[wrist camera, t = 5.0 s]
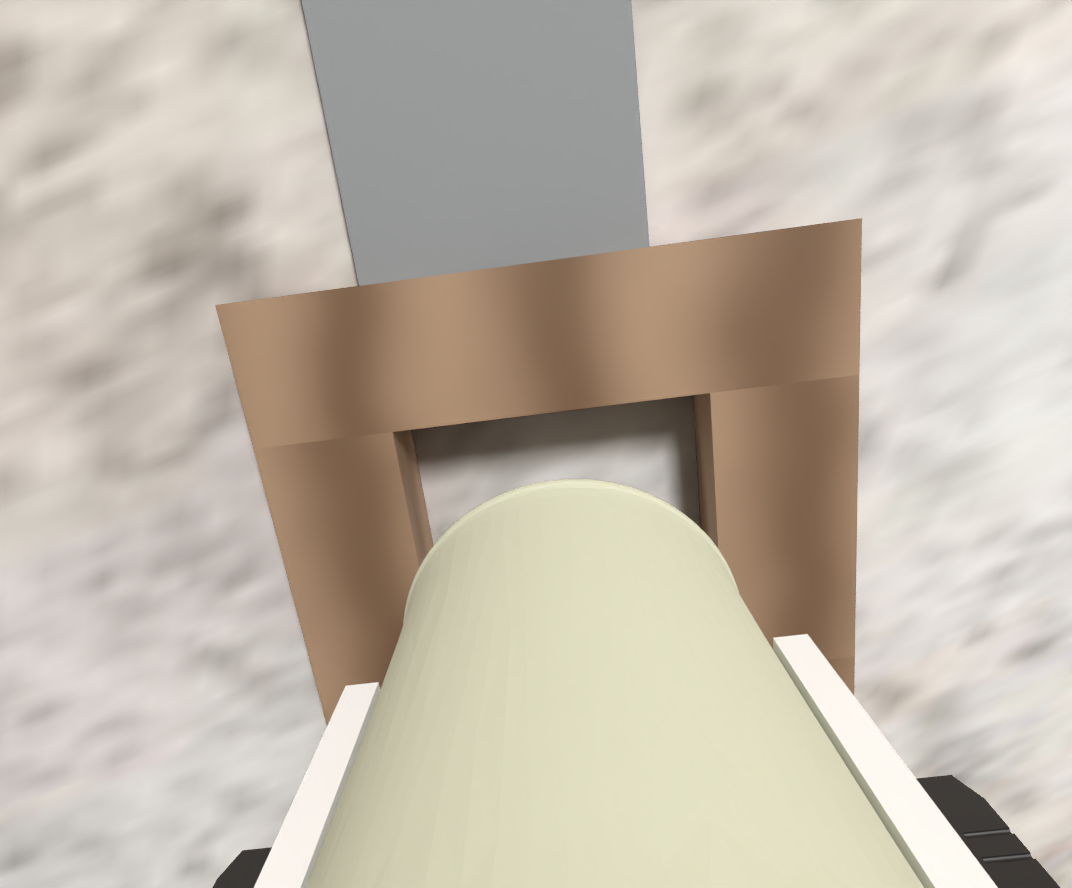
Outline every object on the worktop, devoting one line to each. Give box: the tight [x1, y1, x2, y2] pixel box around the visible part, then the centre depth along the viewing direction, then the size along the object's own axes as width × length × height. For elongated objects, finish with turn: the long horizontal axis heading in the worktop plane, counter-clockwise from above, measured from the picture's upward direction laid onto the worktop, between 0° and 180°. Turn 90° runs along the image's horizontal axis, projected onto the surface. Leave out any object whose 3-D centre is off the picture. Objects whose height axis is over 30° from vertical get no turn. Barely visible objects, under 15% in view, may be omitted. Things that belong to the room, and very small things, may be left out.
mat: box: [302, 0, 649, 286], centre depth 20 cm, size 10×10×1 cm
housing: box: [215, 218, 862, 726], centre depth 23 cm, size 20×20×2 cm
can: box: [306, 479, 924, 888], centre depth 11 cm, size 9×9×12 cm
